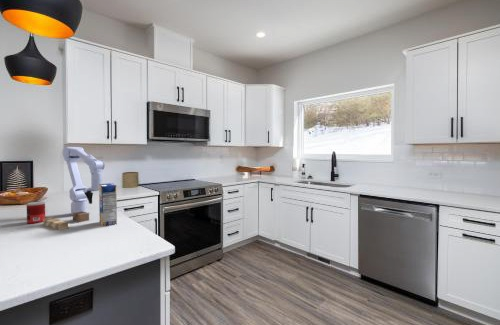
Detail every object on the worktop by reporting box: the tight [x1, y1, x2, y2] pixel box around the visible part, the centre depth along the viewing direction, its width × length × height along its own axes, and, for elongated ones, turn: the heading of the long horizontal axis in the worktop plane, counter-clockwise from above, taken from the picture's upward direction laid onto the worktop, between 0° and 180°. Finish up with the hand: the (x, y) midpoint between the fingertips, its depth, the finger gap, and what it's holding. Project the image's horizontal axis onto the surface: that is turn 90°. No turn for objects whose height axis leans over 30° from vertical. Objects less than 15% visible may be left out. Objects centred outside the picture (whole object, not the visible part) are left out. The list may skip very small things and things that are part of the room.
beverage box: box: [98, 182, 118, 227], centre depth 139 cm, size 7×11×22 cm, turn 39°
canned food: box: [26, 201, 46, 225], centre depth 140 cm, size 8×8×11 cm
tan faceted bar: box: [42, 217, 69, 231], centre depth 133 cm, size 18×4×3 cm, turn 60°
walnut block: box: [72, 211, 90, 223], centre depth 144 cm, size 8×5×4 cm, turn 60°
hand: (97, 202), depth 150 cm, fingers open, 7 cm apart
